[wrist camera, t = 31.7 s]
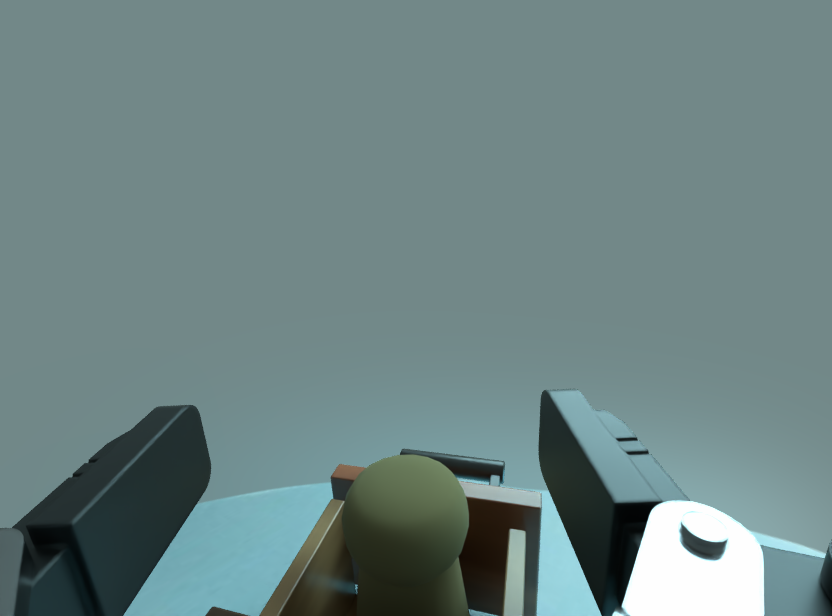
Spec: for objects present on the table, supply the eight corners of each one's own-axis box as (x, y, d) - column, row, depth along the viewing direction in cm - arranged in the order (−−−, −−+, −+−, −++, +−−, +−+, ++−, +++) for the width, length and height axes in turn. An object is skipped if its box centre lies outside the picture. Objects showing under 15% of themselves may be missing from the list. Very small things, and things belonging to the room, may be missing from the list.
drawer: (380, 503, 32) (372, 413, 30) (536, 529, 29) (540, 431, 27) (198, 894, 15) (145, 751, 13) (534, 1053, 12) (546, 905, 10)
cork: (450, 784, 17) (441, 566, 13) (326, 704, 19) (293, 506, 16) (496, 638, 22) (499, 454, 18) (393, 591, 24) (379, 423, 21)
